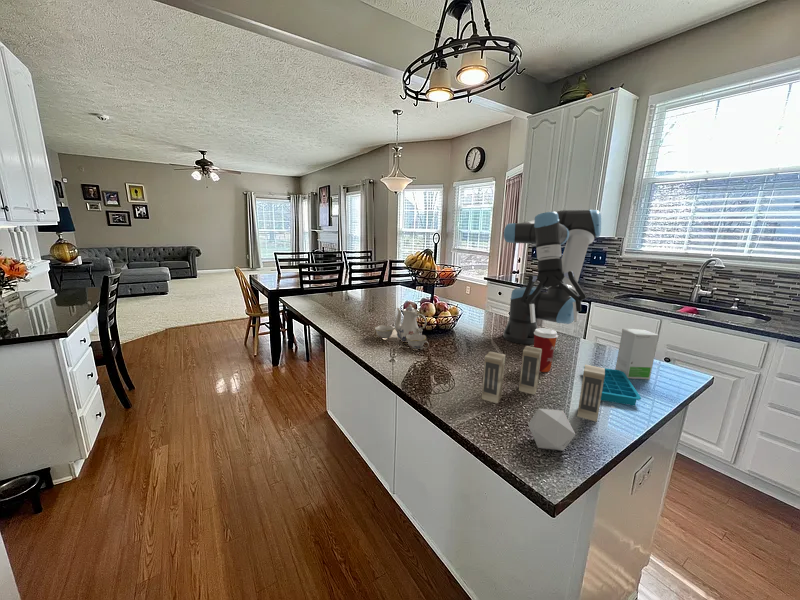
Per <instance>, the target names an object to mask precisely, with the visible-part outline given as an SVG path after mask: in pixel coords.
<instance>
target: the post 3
mask: <svg viewBox="0 0 800 600" xmlns="http://www.w3.org/2000/svg"><path fill="white" fill-rule="evenodd" d="M584 366H585V367H584ZM584 366H583V373H582V374H583V376H582V380H581V381H582V382H581V388H580V396H579V400H578V408H577V415H576V417H578V418H581V419H584V420H589V421H593V422H596V423H598V419H599V412H600V405H601V401H602V400H601V395H602V389H603V383H604V377H605V367H600V366H595V365H589V364H584Z"/></svg>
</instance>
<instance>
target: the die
mask: <svg viewBox="0 0 800 600" xmlns="http://www.w3.org/2000/svg"><path fill="white" fill-rule="evenodd" d="M527 425H528V427H529V430H530V433H531V434H532V437H533V440H534V442H535V444H536V446H537V448H538V449H546V450H553V451H561V452H562V451H564V450H566V448H567V446H568V445H569V444H570V442H571V441H572V440H573V439H574V437H575V436H576V433H575V430H574V429H573V427H572V425H571V423H570V421H569V419H568V417H567V415H566V413H565V412H564V410H558V409H547V408H537V410H536V411H535V413H534V415H533V416H532V418H531V419H530V421H529V422H528V424H527Z"/></svg>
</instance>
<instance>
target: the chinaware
mask: <svg viewBox="0 0 800 600" xmlns="http://www.w3.org/2000/svg"><path fill="white" fill-rule="evenodd" d="M396 310H397V316H396V318H395V321H394V327H393V326H392V325H384V324H380V325H378V326H374V330H375V332H376V336H378V338H380V339H381V338H388V339H389V338H390V337H391V336H392V334H393V333H394V330H395V332H396V336H397V338H398V339H399V340H400V339H401V340H402V341H406V342H408V343H407V345H408V346H409V347H410V348H411V349H412V348H413V349H420V350H421V351H422V350H423V349H425V350H426V349H428V348H429V346H430V345H429V344H430V343H429V342H428V341H427V335H425V334H423V331H424V330H423V329H424V328H426V327H427V323H428V321H427V318H426V316H425V315H424V314H422V313H418V309H415V308H414V307H413V305H412V304H411V303H410V304H409V305H408V306H407V307H406V308H405V309H402V310H401V309H400V307H396ZM402 312H403V319H402ZM420 316H421V317H422V318H423V320H424V325H423V326H422V327H419V326H418V325H419V324H418V322H417V319H419V318H420ZM401 321H402V322H401ZM425 343H427V347H425V346H424V344H425Z"/></svg>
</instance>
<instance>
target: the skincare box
mask: <svg viewBox="0 0 800 600" xmlns="http://www.w3.org/2000/svg"><path fill="white" fill-rule="evenodd" d="M658 341H659V334H658V333H656V332H652V331H649V330H647V329H638V328H622V330H621V336H620V342H619V346H618V353H617V356H616V357H617V358H616V362H615V368H614V370H620V371H623V372H624V373H625V375H626V376H627V378H628V379H631V380H632V379H634V380H650V379H651V375H652V371H653V366H654V361H655V357H656V351H657V345H658Z"/></svg>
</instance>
